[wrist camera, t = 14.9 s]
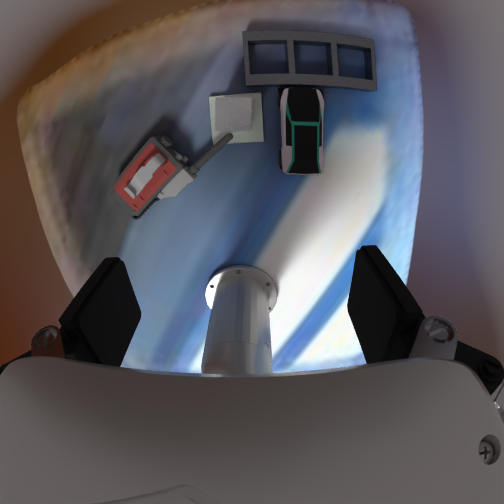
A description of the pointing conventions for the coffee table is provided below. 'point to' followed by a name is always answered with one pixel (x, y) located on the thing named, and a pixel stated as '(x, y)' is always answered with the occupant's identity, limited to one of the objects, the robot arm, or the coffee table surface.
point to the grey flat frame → (313, 80)
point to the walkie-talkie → (157, 174)
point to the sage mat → (241, 136)
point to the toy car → (301, 130)
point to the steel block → (233, 114)
